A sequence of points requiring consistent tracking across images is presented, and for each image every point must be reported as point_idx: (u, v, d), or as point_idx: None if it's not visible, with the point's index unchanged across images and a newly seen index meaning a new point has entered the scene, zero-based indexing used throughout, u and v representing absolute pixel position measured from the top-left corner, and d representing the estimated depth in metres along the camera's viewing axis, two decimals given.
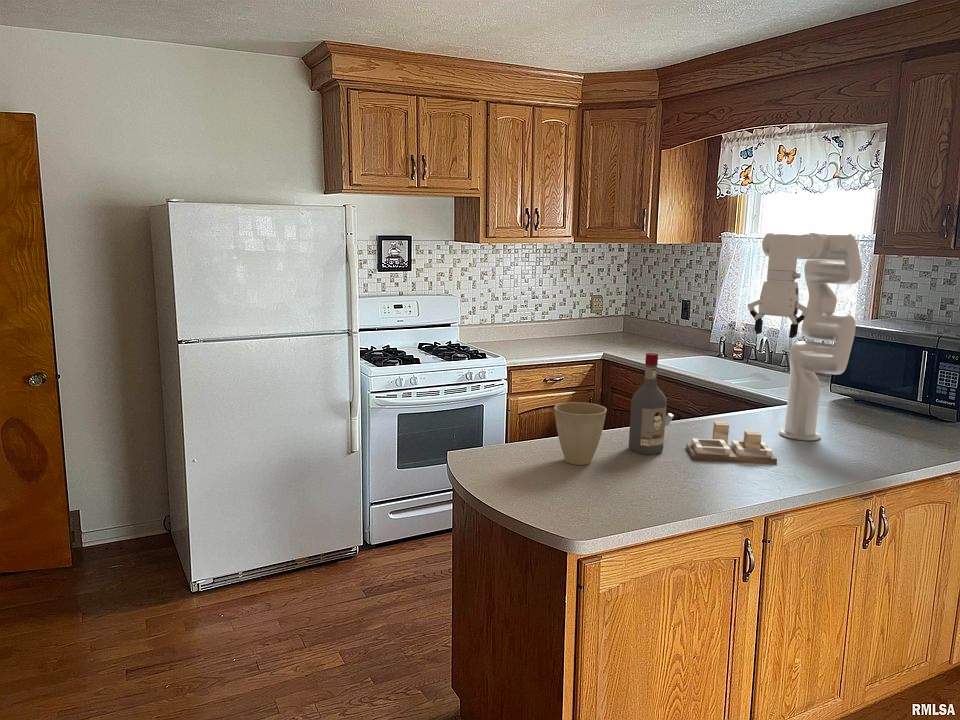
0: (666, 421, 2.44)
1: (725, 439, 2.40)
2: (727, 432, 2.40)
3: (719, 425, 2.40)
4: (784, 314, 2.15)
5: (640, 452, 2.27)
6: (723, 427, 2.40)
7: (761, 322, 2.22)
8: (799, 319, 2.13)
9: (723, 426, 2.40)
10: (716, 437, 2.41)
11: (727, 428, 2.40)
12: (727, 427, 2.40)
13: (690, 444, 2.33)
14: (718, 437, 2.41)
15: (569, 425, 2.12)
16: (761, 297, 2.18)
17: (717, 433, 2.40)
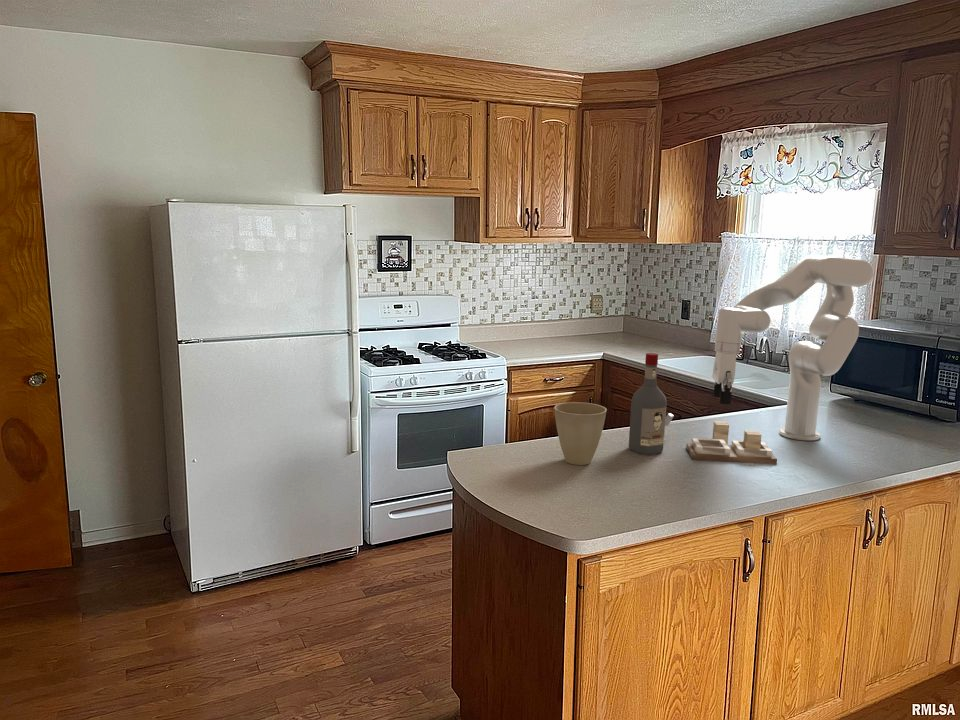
0: (666, 421, 2.44)
1: (725, 439, 2.40)
2: (727, 432, 2.40)
3: (719, 425, 2.40)
4: None
5: (640, 452, 2.27)
6: (723, 427, 2.40)
7: None
8: None
9: (723, 426, 2.40)
10: (716, 437, 2.41)
11: (727, 428, 2.40)
12: (727, 427, 2.40)
13: (690, 444, 2.33)
14: (718, 437, 2.41)
15: (569, 425, 2.12)
16: (734, 369, 2.34)
17: (717, 433, 2.40)
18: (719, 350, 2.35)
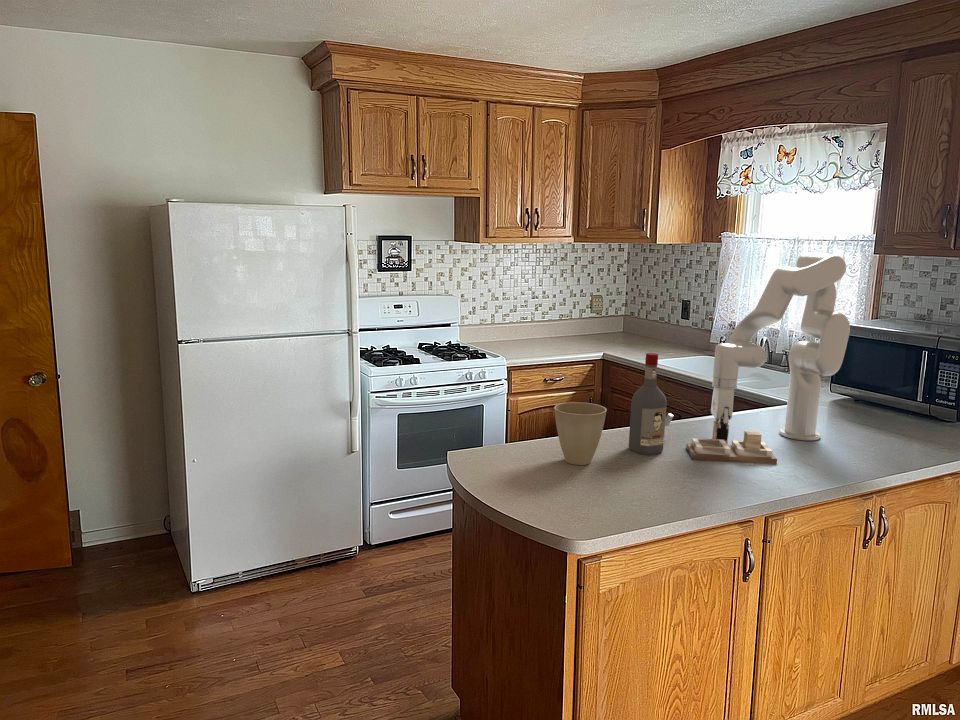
0: (666, 421, 2.44)
1: None
2: None
3: None
4: None
5: (640, 452, 2.27)
6: None
7: None
8: None
9: None
10: (716, 437, 2.41)
11: None
12: None
13: (690, 444, 2.33)
14: None
15: (569, 425, 2.12)
16: (732, 405, 2.36)
17: None
18: (717, 386, 2.37)
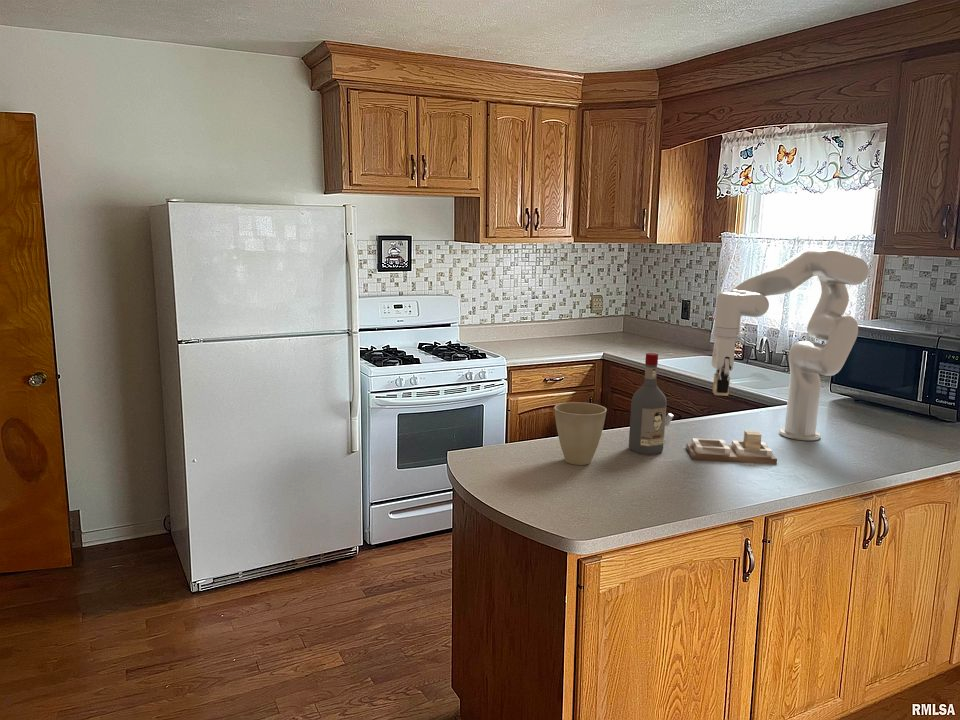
0: (666, 421, 2.44)
1: None
2: (728, 384, 2.33)
3: None
4: None
5: (640, 452, 2.27)
6: None
7: None
8: None
9: None
10: (716, 389, 2.33)
11: None
12: None
13: (690, 444, 2.33)
14: None
15: (569, 425, 2.12)
16: (733, 355, 2.29)
17: None
18: (718, 336, 2.30)
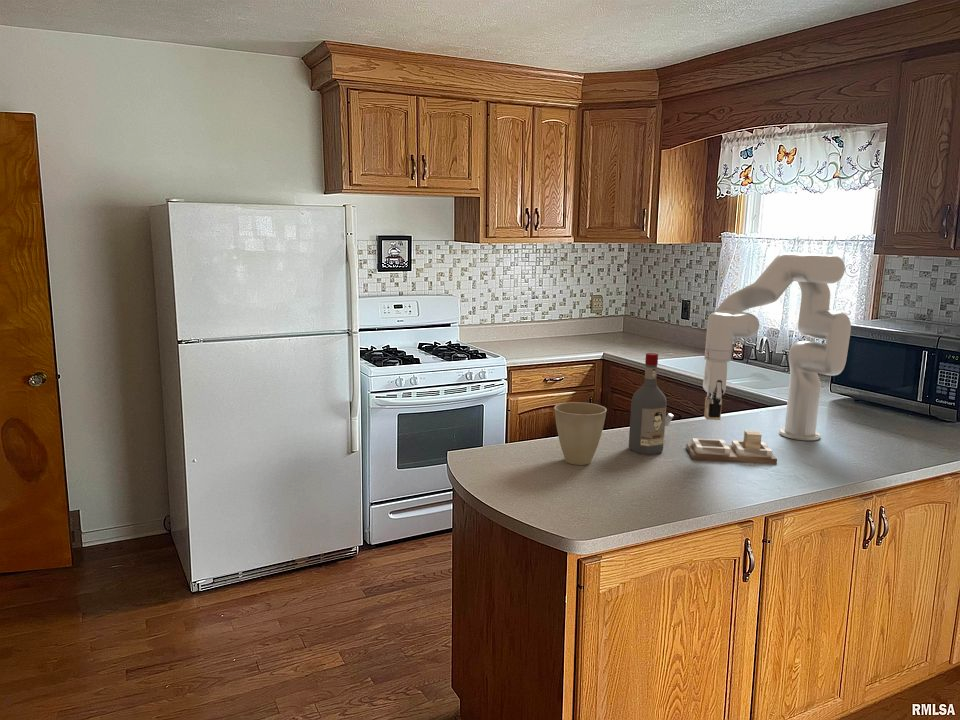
0: (666, 421, 2.44)
1: None
2: None
3: None
4: None
5: (640, 452, 2.27)
6: None
7: None
8: None
9: None
10: (708, 413, 2.24)
11: None
12: None
13: (690, 444, 2.33)
14: None
15: (569, 425, 2.12)
16: (726, 378, 2.20)
17: None
18: (709, 358, 2.21)
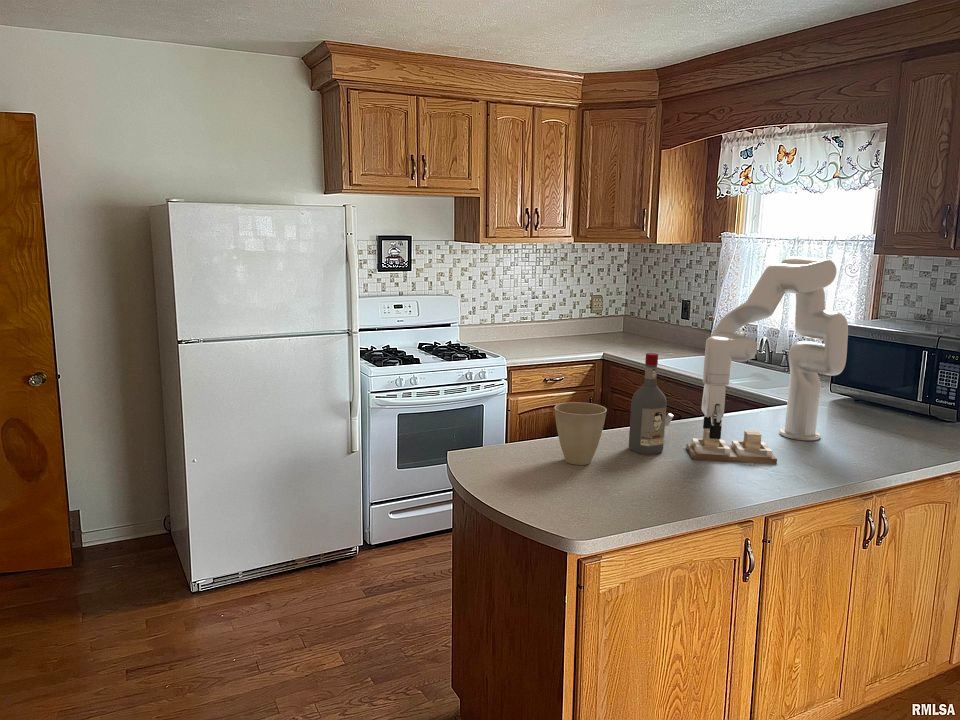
0: (666, 421, 2.44)
1: None
2: (718, 440, 2.26)
3: None
4: None
5: (640, 452, 2.27)
6: None
7: None
8: None
9: None
10: (706, 445, 2.26)
11: None
12: None
13: (690, 444, 2.33)
14: (708, 445, 2.26)
15: (569, 425, 2.12)
16: None
17: (707, 441, 2.26)
18: (707, 382, 2.22)
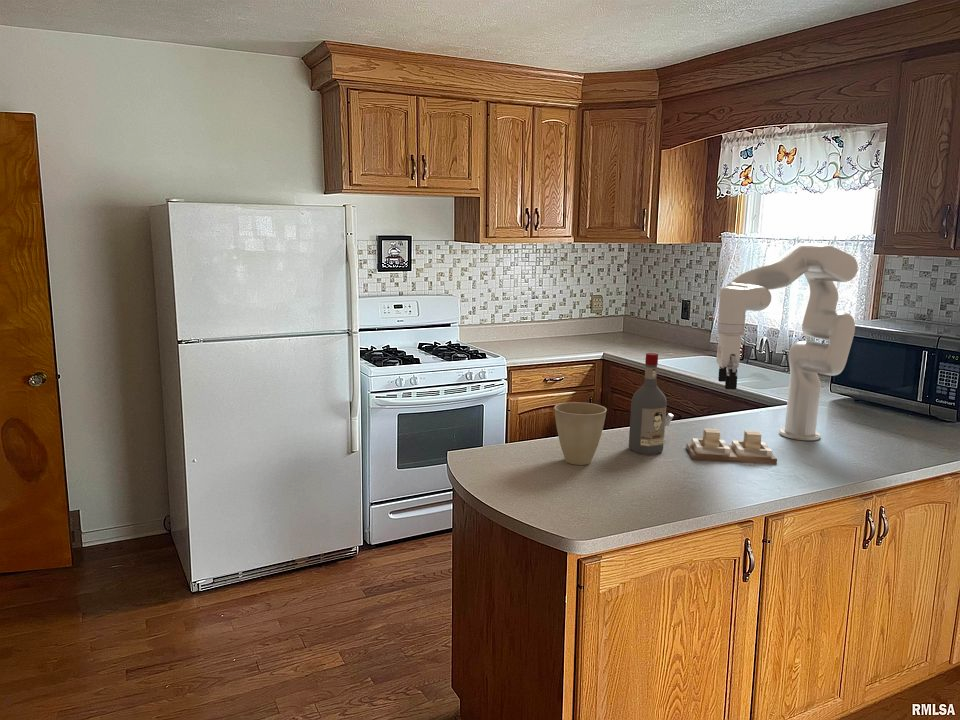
0: (666, 421, 2.44)
1: None
2: (718, 440, 2.26)
3: (709, 433, 2.25)
4: None
5: (640, 452, 2.27)
6: (713, 434, 2.25)
7: None
8: None
9: (714, 434, 2.25)
10: (706, 445, 2.26)
11: (718, 436, 2.25)
12: (718, 435, 2.25)
13: (690, 444, 2.33)
14: (708, 445, 2.26)
15: (569, 425, 2.12)
16: (739, 352, 2.20)
17: (707, 441, 2.26)
18: (722, 332, 2.21)
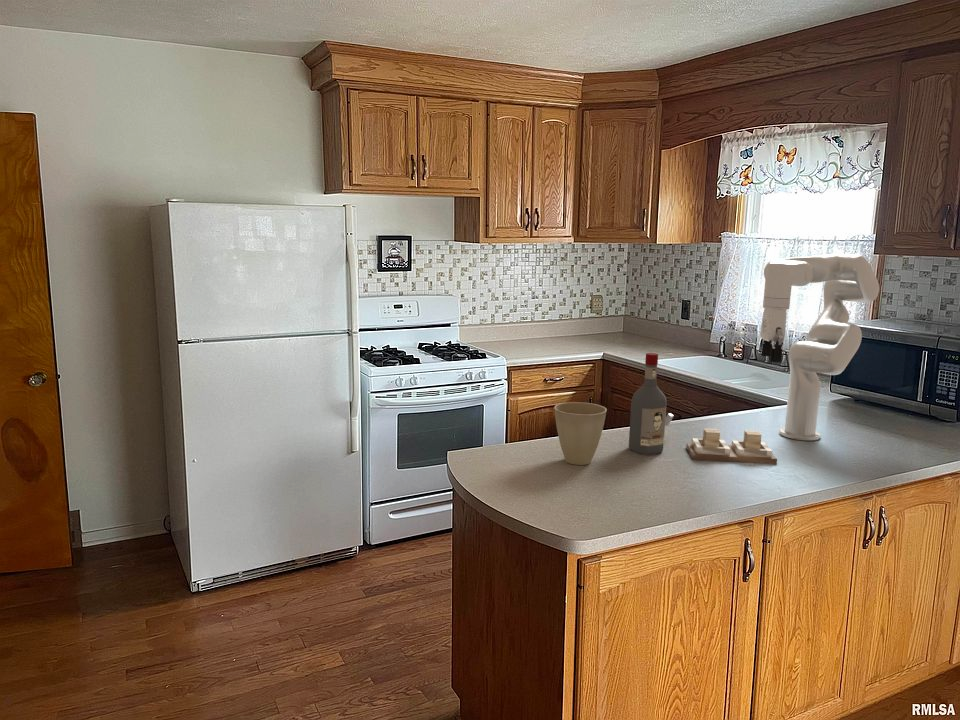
0: (666, 421, 2.44)
1: None
2: (718, 440, 2.26)
3: (709, 433, 2.25)
4: None
5: (640, 452, 2.27)
6: (713, 434, 2.25)
7: None
8: None
9: (714, 434, 2.25)
10: (706, 445, 2.26)
11: (718, 436, 2.25)
12: (718, 435, 2.25)
13: (690, 444, 2.33)
14: (708, 445, 2.26)
15: (569, 425, 2.12)
16: None
17: (707, 441, 2.26)
18: (768, 306, 2.26)
